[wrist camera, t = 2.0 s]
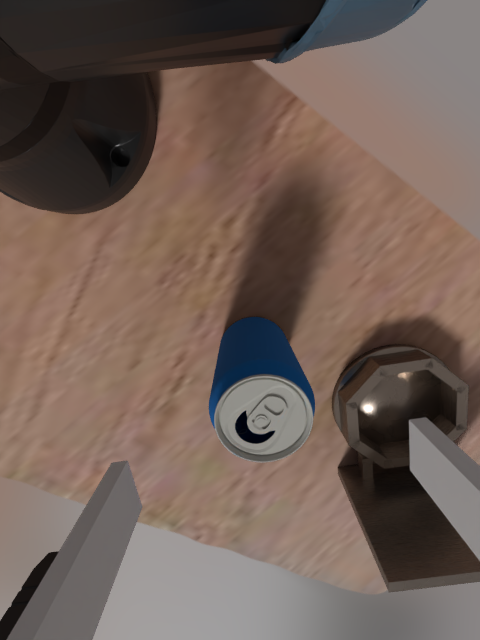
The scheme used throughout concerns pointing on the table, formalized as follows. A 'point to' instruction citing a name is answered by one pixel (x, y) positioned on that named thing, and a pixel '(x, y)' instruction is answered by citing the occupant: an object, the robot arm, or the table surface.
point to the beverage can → (260, 393)
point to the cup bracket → (401, 464)
